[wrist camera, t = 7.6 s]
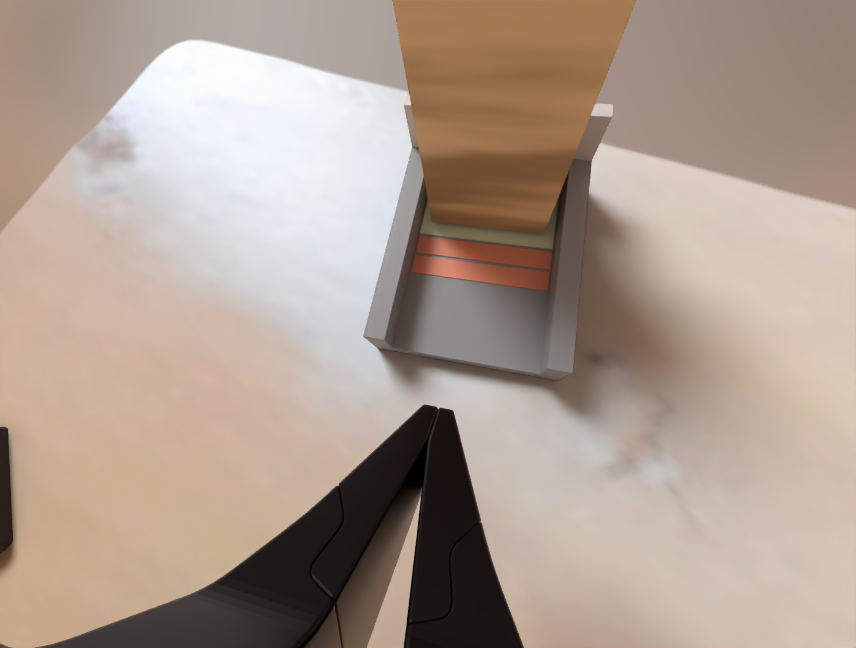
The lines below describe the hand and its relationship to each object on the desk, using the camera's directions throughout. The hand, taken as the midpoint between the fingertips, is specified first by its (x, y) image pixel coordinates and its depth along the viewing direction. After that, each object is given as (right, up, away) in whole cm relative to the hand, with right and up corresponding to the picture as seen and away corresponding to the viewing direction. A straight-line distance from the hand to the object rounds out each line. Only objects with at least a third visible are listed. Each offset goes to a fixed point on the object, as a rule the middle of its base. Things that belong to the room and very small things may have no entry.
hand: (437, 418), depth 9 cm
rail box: (+3, +7, +13) cm, 15 cm away
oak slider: (+4, +11, +12) cm, 17 cm away
